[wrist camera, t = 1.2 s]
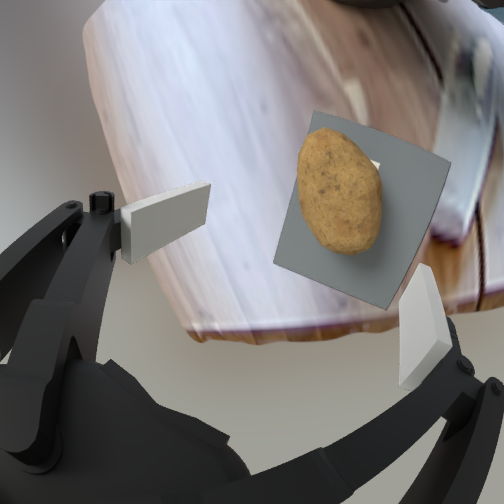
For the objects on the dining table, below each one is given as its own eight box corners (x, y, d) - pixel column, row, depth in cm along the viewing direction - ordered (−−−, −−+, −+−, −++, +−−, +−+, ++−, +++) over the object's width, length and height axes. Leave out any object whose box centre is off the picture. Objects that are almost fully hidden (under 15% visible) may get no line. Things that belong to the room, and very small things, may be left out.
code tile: (314, 110, 30) (313, 110, 30) (450, 162, 25) (451, 162, 25) (273, 261, 41) (272, 263, 40) (385, 308, 36) (385, 310, 35)
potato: (364, 120, 28) (361, 113, 21) (392, 232, 31) (396, 257, 25) (290, 141, 33) (267, 141, 26) (321, 244, 36) (306, 270, 29)
